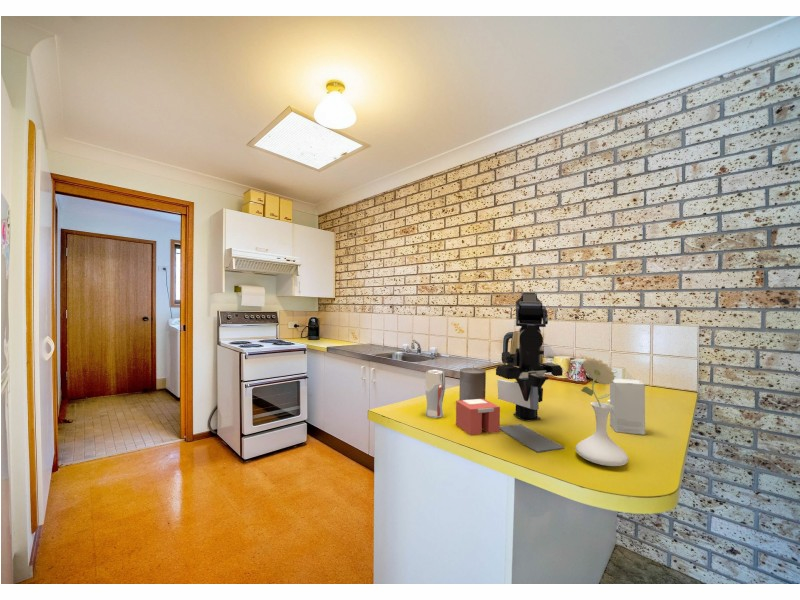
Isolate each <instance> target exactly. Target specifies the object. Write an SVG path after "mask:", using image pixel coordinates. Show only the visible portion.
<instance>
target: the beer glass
mask: <svg viewBox="0 0 800 600" xmlns="http://www.w3.org/2000/svg"><path fill="white" fill-rule="evenodd" d="M424 389H425V398H426V399H425V400H426V409H425V410H426V411H425V416H426V417H428V418H430V419H440V418H443V417H444V410H443V402H444V397H445V392H446V371H444V370H442V369H441V370H440V369H428V370H425V376H424Z"/></svg>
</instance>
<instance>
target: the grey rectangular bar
mask: <svg viewBox="0 0 800 600" xmlns="http://www.w3.org/2000/svg"><path fill="white" fill-rule="evenodd" d="M516 382H517V381H510V380H507V379H506V380H505V379H497V399H498V400H500V401H505V402H508V403H511V404H514V405H516V404H517V405H520V406H524V407H527V408H530V409H533V410H536V409H538V410H540V405H539V403H540V402H538V387H535V386H531V388H530V394H529V399H528V401H525V400H524V398H523V395H522V392H521V389H520V387H519V384H518V383H516Z"/></svg>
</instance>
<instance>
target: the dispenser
mask: <svg viewBox="0 0 800 600" xmlns="http://www.w3.org/2000/svg"><path fill="white" fill-rule="evenodd" d="M500 419H501V406H500V405H497V404H495V403H494V402H491V401H489V400H487V399H486V398H485V399H473V400H461V401H459V400H456V403H455V425H456V426H457V427H459V428H460V429H461V430H462V431H464V432H466V433H467V434H468V435H469V436H474V435H475V436H476V435H482V432H483V431H485V432H487V433H488V434H494V433H500V431H501V430H500V426H501V425H500V424H501V420H500Z"/></svg>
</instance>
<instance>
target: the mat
mask: <svg viewBox="0 0 800 600" xmlns="http://www.w3.org/2000/svg"><path fill="white" fill-rule="evenodd" d="M500 431H501V432H502V433H504V434H505V435H507V436H508V437H511V438H512V439H514V440H515V441H517V442H519V443H520V444H522V445H524V446H525V447H527V448H529V449H530V450H532V451H533V452H534V453H535V452H536V453H543V452H550V451H559V450H564V449H565V447H564V446H562V445H561V444H559V443H557V442H556V441H553V440H552V439H549V438H548V437H546V436H544V435H542V434H541V433H538V432H537V431H534V430H533V429H531V428H529V427H527V426H526V425H524V424H513V425H509V424H508V425H502V426H501V425H500ZM565 450H566V449H565Z"/></svg>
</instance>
